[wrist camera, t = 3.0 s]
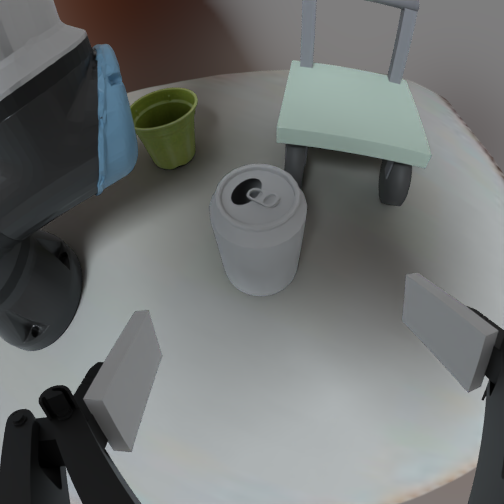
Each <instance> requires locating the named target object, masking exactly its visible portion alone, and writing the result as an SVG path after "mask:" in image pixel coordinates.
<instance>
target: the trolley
mask: <svg viewBox="0 0 504 504" xmlns="http://www.w3.org/2000/svg"><path fill="white" fill-rule="evenodd" d="M316 1H317V0H302V35H301V61H293V60H292V64H291V68H290V72H289V76H288V81H287V85H286V89H285V94H284V98H283V102H282V106H281V111H280V115H279V119H278V124H277V143H286V153H285V170H284V171H286V172H287V173H289V174H290V175H291V176H292V177H293V178H294V179H295V181H296V182H297V183H298V186H299V188H300V189H301V187H302V179H303V171H304V165H306V159H307V150H308V146H310V147H317V148H324V149H330V150H337V151H343V152H349V153H354V154H360V155H365V156H371V157H376V158H381V159H383V160H382V164H381V169H380V177H379V196H380V200H381V202H382V203H386V204H391V205H396V206H400V205H401V204H402V203H403V202H404V200H405V198H406V196H407V194H408V190H409V187H410V182H411V174H412V165H413V166H417V167H421V168H426V166H427V164H428V162H429V160H430V158H431V156H432V155H431V152H430V148H429V145H428V141H427V138H426V135H425V132H424V129H423V126H422V122H421V120H420V117H419V114H418V111H417V108H416V105H415V103H414V100H413V97H412V95H411V92H410V90H409V87H408V84H407V82H406V80H402V75H403V72H404V68H405V64H406V60H407V56H408V52H409V48H410V44H411V40H412V35H413V31H414V26H415V21H416V17H417V12H418V9H419V0H366V1H371V2H376V3H380V4H384V5H388V6H393V7H396V8H400V9H401V14H400V20H399V26H398V30H397V35H396V40H395V45H394V49H393V54H392V59H391V63H390V68H389V72H388V76H386V75H382V74H377V73H373V72H368V71H363V70H357V69H352V68H346V67H340V66H334V65H327V64H320V63H313V53H314V38H315V20H316Z"/></svg>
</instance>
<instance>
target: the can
mask: <svg viewBox="0 0 504 504" xmlns="http://www.w3.org/2000/svg"><path fill="white" fill-rule="evenodd" d="M209 211H210V220H211V224H212V228H213V231H214V235H215V238H216V242H217V245H218V248H219V252H220V255H221V259H222V262H223V266H224V269H225V272H226V274H227V276H228V278H229V280H230V282H231V283H232V284H233V285H234V286H235V287H236V288H237V289H238V290H240V291H242V292H244V293H246V294H248V295H254V296H267V295H273V294H275V293H277V292H279V291H281V290H283V289H284V288H285V287H286V286H287V285H288V284H290V283H291V282H292V280H293V278H294V276H295V274H296V272H297V267H298V261H299V256H300V250H301V245H302V239H303V233H304V228H305V222H306V214H307V203H306V199H305V196H304V193H303V192H302V191H301V189H300V188H299V186H298V183H297V182H296V181H295V179H294V178H293V177H292V176H291V175H290V174H289V173H287V172H286V171H284V170H283V169H281V168H279V167H276V166H273V165H270V164H260V163H256V164H248V165H244V166H241V167H238V168H236V169H233V170H232V171H231V172H229V173H228V174H226V175H225V176H224V177H223V178H222V180H221V181H220V182H219V184H218V185H217V188H216V191H215V193H214V194H213V196H212V199H211V202H210V206H209Z"/></svg>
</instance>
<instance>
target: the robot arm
mask: <svg viewBox="0 0 504 504" xmlns="http://www.w3.org/2000/svg"><path fill="white" fill-rule="evenodd" d="M137 158H138V145H137V138H136V132H135V127H134V123H133V118H132V114H131V109H130V105H129V101H128V97H127V93H126V90H125V86H124V84H123V83H122V77H121V74H120V69H119V65H118V61H117V59H116V56H115V53H114V51H113V49H112V48H111V47H110V46H109V45H108V44H103V45H100V44H97V45H95V46H94V47H93V49H92V48H91V45H90V42H89V39H88V36H87V34H86V31H85V30H83V29H79V28H75V27H72V26H69V25H65V24H64V23H62V22H61V21H60V19H59V16H58V14H57V10H56V8H55V4H54V1H53V0H0V336H1V337H2V339H4V340H5V341H6V342H8V343H9V344H11V345H13V346H16V347H18V348H20V349H23V350H27V351H35V350H40V349H43V348H45V347H47V346H49V345H50V344H52V343H53V342H54V341H56V340H57V339H58V338H59V337H60V336H61V335H62V333H63V332H64V331H65V330H66V328H67V327H68V325H69V324H70V322H71V320H72V318H73V316H74V314H75V312H76V309H77V306H78V303H79V299H80V294H81V287H82V274H81V267H80V264H79V261H78V258H77V256H76V255H75V253H74V252H73V250H72V249H71V248H70V247H69V246H68V245H67V244H66V243H65V242H64V241H63V240H61V239H60V238H59V237H57V236H55V235H53V234H50V233H48V232H45V231H43V230H40V228H42V227H43V226H45V225H46V224H48V223H49V222H51V221H52V220H54V219H55V218H57V217H58V216H60V215H62V214H63V213H65V212H66V211H68V210H70V209H71V208H73V207H74V206H76V205H78V204H79V203H81V202H83V201H84V200H86V199H88V198H89V197H91V196H93V195H96V196H98V195H100V194H101V193H102V192H103V190H104V189H105V188H107V187H108V186H110V185H111V184H113V183H115V182H116V181H118V180H120V179H121V178H123V177H125V176H126V175H128V174H129V173H130V172H131V171H132V170H133V168H134V166H135V164H136V162H137ZM402 321H403V322H404V323H405V324H406V325H407V326H408V328H409V329H410V330H411V331H412V332H413V333H414V334H415V335H416V336H417V337H418V338H419V339H420V340H421V341H422V342H423V343H424V344H425V346H426V347H427V348H428V349H429V350H430V351H431V352H432V353H433V354H434V355H435V356H436V357H437V359H438V360H439V361H440V362H441V363H442V364H443V365H444V366H445V367H446V368H447V370H448V371H449V372H450V373H451V374H452V375H453V376H454V377H455V379H456V380H457V381H458V382H459V383H460V384H461V385H462V386H463V388H464V389H465V390H466V391H467V392H470V391H472V390H474V389H477V388H479V387H481V384H482V382H483V379H484V376H485V375H486V376H487V377H488V378H489V382H488V385H487V387H486V390H485V392H484V395H483V397H482V400H484V398H485V397H486V407H485V417H484V426H483V434H482V440H481V447H480V453H479V458H478V463H477V468H476V473H475V478H474V482H473V486H472V490H471V494H470V497H469V501H468V504H504V330H503V329H501V328H500V327H499V326H498V325H496V324H495V323H494V322H492V321H491V320H489V319H488V318H487V317H485V316H483V314H481V313H480V312H479V311H477V310H476V309H473V308H470V307H468V306H465V305H464V304H462V303H461V302H459V301H458V300H457V299H455V298H454V297H452V296H451V295H450V294H448V293H447V292H445V291H444V290H442V289H441V288H440V287H438V286H437V285H435V284H434V283H432V282H431V281H429V280H428V279H427V278H425V277H424V276H422V275H421V274H419V273H418V272H417V273H412V274H406V279H405V293H404V305H403V315H402ZM161 358H162V353H161V350H160V347H159V344H158V340H157V337H156V333H155V330H154V327H153V323H152V319H151V316H150V312H149V310H145V311H135V312H134V314H133V315H132V317H131V318H130V320H129V322H128V323H127V325H126V326H125V328H124V330H123V331H122V333H121V335H120V336H119V338H118V340H117V341H116V343H115V344H114V346H113V348H112V349H111V351H110V353H109V355H108V356H107V358H106V360H105V361H104V362H98V363H96V364H95V365H94V366H93V367H92V368H90V369H89V371H88V373H87V374H86V376H85V378H84V379H83V381H82V382H81V383H82V384H80V386H79V387H78V389H77V391H76V392H75V394H74V396H73V395H72V393H71V391H70V390H69V388H68V387H66V386H63V385H57V386H53V387H50V388H49V389H47V390H45V391H44V392H43V393H42V394H41V396H40V397H39V404H40V406H41V407H42V409H43V411H44V412H45V414H46V416H47V417H46V418H37V419H36V418H35V417H34V415H33V414H32V412H31V411H30V410H27V409H20V410H18V411H15V412H13V413H12V414H11V415H10V416H9V417H8V419H7V422H6V427H5V433H4V440H3V447H2V455H1V464H0V504H70V499H69V492H68V484H67V476H66V468H67V470H68V473H69V475H70V477H71V480H72V482H73V484H74V487H75V489H76V491H77V493H78V495H79V497H80V499H81V501H82V503H83V504H141V503H140V501H139V500H138V498H137V497H136V496H135V494H134V493H133V491H132V490H131V489H130V487H129V486H128V484H127V483H126V481H125V480H124V478H123V477H122V475H121V474H120V472H119V470H118V469H117V467H116V466H115V464H114V462H113V461H112V459H111V458H110V456H109V454H108V453H107V451H106V450H105V447H106V444H107V442H109V444H110V446H111V447H112V449H113V450H114V451H125V452H132V449H133V446H134V442H135V439H136V436H137V432H138V429H139V426H140V423H141V419H142V416H143V413H144V410H145V407H146V404H147V400H148V397H149V394H150V391H151V388H152V385H153V382H154V379H155V376H156V373H157V370H158V367H159V364H160V361H161Z"/></svg>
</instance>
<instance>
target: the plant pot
mask: <svg viewBox="0 0 504 504" xmlns="http://www.w3.org/2000/svg"><path fill="white" fill-rule="evenodd" d="M197 103H198V99H197V96H196V94H195V93H194V92H193V91H191V90H188V89H185V88H166V89H161V90H157V91H154V92H151V93H149V94H147V95H145V96H143V97H141V98H140V99H138V100H137V101H135V102H134V103H133V104H132V105H131V106H130V109H131V114H132V118H133V123H134V127H135V132H136V134H137V135H138V136H139V138H140V139H141V141H142V143H143V144H144V146H145V148H146V149H147V151H148V153H149V154H150V156H151V158H152V160H153V161H154V163H155V164H156V165H157V166H158V167H160V168H163V169H174V168H176V167H177V166H180V165H185V164H187V163H188V162H189V161H190V160H191V159H192V158H193V156H194V154H195V134H194V114H195V108H196V106H197Z"/></svg>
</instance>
